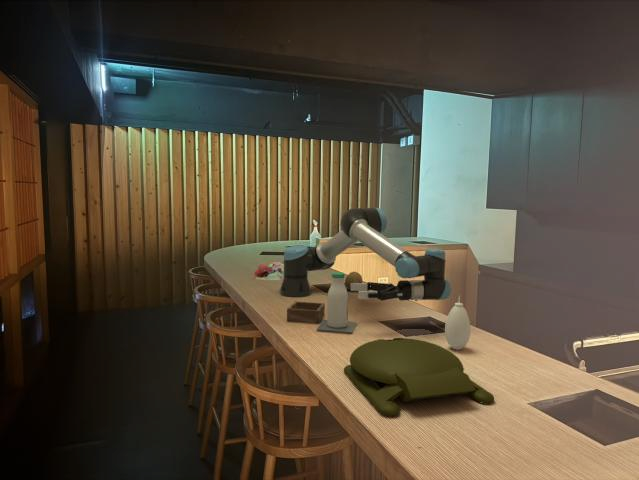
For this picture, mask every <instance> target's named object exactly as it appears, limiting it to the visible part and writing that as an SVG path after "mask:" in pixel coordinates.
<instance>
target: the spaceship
mask: <svg viewBox="0 0 639 480" xmlns="http://www.w3.org/2000/svg"><path fill="white" fill-rule="evenodd" d="M349 363H350V364H347V365H346V366H345V367H344V368H343V372H344V374H345V375H346V376H347V378H349V379H350V380H351V382H353V384H354V385H355V386H356V388H358V390H359V391H360V392H361V393H362V394H363V395H364V396H365V398H367V400H368V401H369V402H370V403H371V405H372V406H374V408H375V409H376V410H377V411H378V413H380V414H381V415H382V416H385V417H390V418H391V417H397V416H398V415H399V414H401V408H400V406H399V405H398V404H397V403H396V402H395V401H394V400H395V399H397V397H399V398H400V399H401V400H402V401H403V402H409V401H417V400H418V401H419V400H426V399H432V398H434V399H435V398H441V397H448V396H449V397H450V396H456V395H457V396H458V395H465V394H466V395H468V396H469V397H470V398H471V399H473V400H474V399H475V400H474V401H476V402H477V401H478V402H477V403H479V402H482V403H481V404H483V403H490V404H491V402H492V403H493V402H494V401H495V396H494V395H493V394H492V393H491V392H489V391H487V390H486V389H485V388H484V387H482V386H480V385H479V384H478V383H476V382H474V380H472V379H471V378H470V377H469V375H468V374H467V373H466V372H464V371H465V368H464V365H463V362H462V361H461V360H460V359H459V357H458V356H457V355H456V354H454V353H453V352H451V351H450V350H448V349H446V348H445V347H443V346H441V345H438V344H436V343H432V342H430V341H426V340H421V339H415V338H409V337H408V338H407V337H395V338H392V339H383V338H382V339H381V338H379V339H375V340H372V341H369V342H365V343H363V344H361V345H360V346H358V347H357V348H355V349H354V350H353V352H352V353H351V354H350V357H349ZM375 381H376V382H380V383H383V384H385V386H383V387H380V385H378V384H377V383H376V382H375Z"/></svg>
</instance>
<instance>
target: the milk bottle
mask: <svg viewBox="0 0 639 480" xmlns="http://www.w3.org/2000/svg"><path fill="white" fill-rule="evenodd" d="M331 279H332V282H331V284H330V288H329V289H328V292H327V300H326V301H327V304H326V305H327V307H326V320H327V325H328V326H329V327H333V328H343V327H346V326H347V324H348V318H349V295H348V290H347V288H346V287H347V286H346V285H345V272H342V271H334V272H332V273H331Z"/></svg>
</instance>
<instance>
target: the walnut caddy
mask: <svg viewBox="0 0 639 480" xmlns="http://www.w3.org/2000/svg"><path fill="white" fill-rule="evenodd" d="M325 308H326V307H325V303H324V302H323V303H322V302H311V301H310V302H307V301H296V300H295V301H294V302H292V304H290V305H289V307H287V308H286V322H288V323H290V322H291V323H301V324H312V325H313V324H314V325H315V324H316V325H320V323H321V322H322V321H323V318H324V317H325V313H326V312H325Z"/></svg>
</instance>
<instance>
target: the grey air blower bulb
mask: <svg viewBox="0 0 639 480" xmlns="http://www.w3.org/2000/svg"><path fill="white" fill-rule="evenodd" d="M444 335H445V336H444V337H445V340H446V342H447V344H448V345H449V346H450V347H451V348H452V349H453V350H455V349H456V351H458V350H462V349H463V348H465V347H466V346H467V344H468V343H469V340H470V337H471V322H470V317H469V315H468V312H467V310H466V308H465V307H464V304H463V303H462V302H461V296H460V295H458V301H457V302H455V303H454V306H453V307H452V308H451V309H450V311H449V313H448V314H447V318H446V320H445V325H444Z"/></svg>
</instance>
